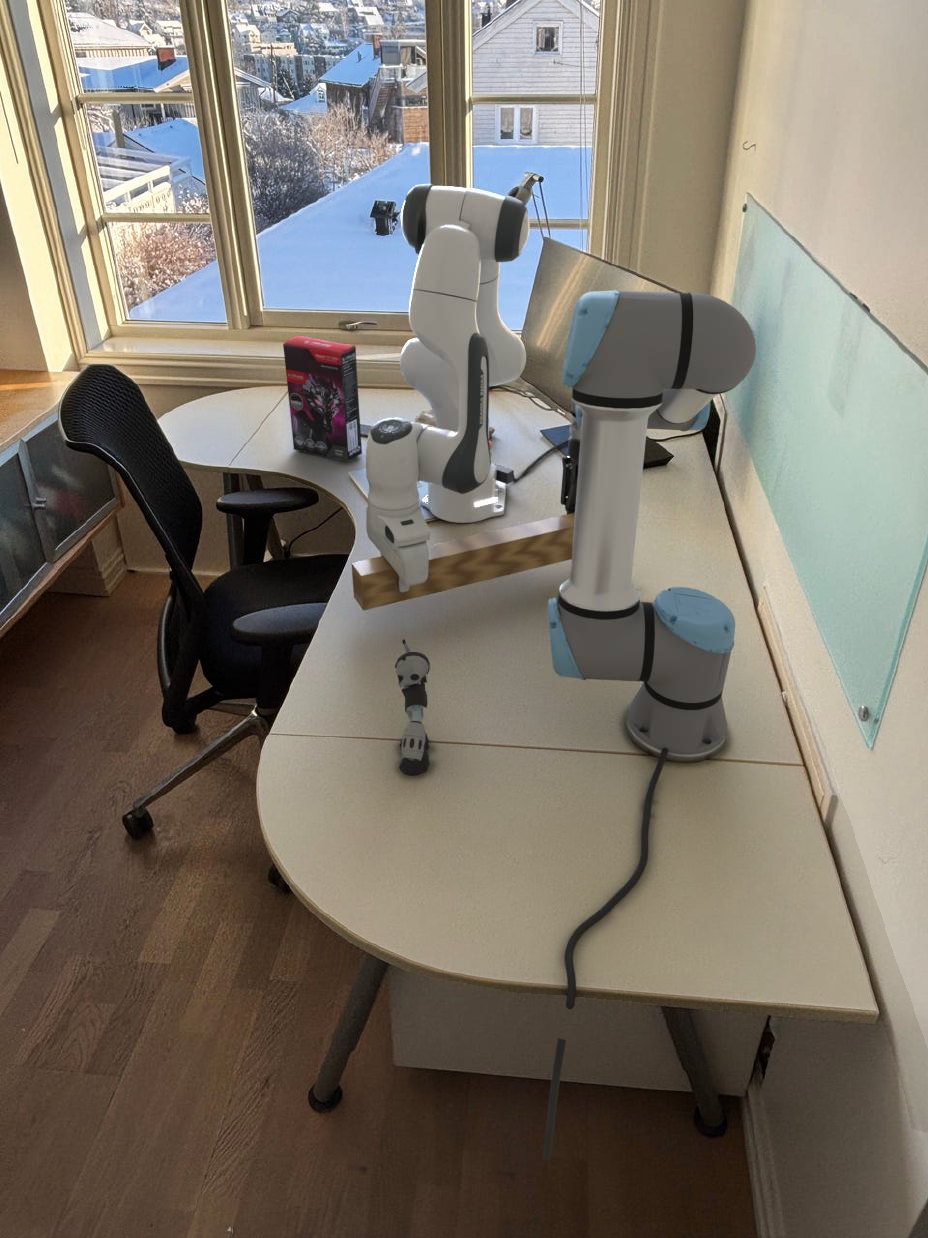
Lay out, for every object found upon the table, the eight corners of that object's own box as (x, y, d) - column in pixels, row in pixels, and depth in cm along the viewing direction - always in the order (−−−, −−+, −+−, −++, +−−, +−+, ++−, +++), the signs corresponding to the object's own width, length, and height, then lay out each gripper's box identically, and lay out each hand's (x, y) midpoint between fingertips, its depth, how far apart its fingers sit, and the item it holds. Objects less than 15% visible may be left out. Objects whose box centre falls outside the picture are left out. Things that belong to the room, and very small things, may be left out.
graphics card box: (291, 450, 230) (280, 341, 215) (307, 440, 235) (297, 333, 220) (348, 464, 224) (341, 353, 209) (364, 454, 229) (358, 344, 214)
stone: (398, 433, 232) (403, 409, 229) (417, 425, 245) (422, 402, 243) (477, 457, 228) (483, 433, 226) (491, 447, 242) (497, 425, 239)
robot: (432, 803, 130) (430, 691, 118) (397, 804, 129) (392, 692, 118) (430, 713, 146) (428, 607, 135) (399, 714, 146) (394, 608, 134)
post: (603, 537, 187) (607, 504, 183) (617, 548, 183) (621, 515, 179) (353, 597, 167) (351, 562, 163) (363, 610, 164) (361, 575, 160)
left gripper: (355, 492, 165) (359, 558, 173) (399, 543, 150) (402, 613, 158) (388, 485, 167) (390, 551, 175) (435, 535, 152) (435, 605, 160)
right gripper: (546, 423, 174) (539, 532, 187) (599, 457, 161) (588, 572, 174) (580, 417, 177) (571, 525, 190) (635, 450, 164) (621, 564, 177)
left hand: (396, 581), depth 167 cm, fingers closed on post, 5 cm apart
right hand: (579, 547), depth 182 cm, fingers closed on post, 5 cm apart
